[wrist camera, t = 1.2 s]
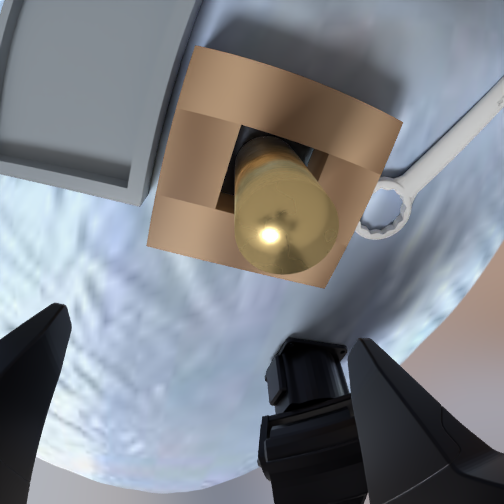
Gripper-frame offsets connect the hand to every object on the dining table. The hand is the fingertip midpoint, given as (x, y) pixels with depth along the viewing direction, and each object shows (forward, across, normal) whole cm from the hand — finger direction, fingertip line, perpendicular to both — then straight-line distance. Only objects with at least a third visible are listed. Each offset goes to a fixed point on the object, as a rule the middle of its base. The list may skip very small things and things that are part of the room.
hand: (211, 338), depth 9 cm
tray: (+13, +11, -6) cm, 18 cm away
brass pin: (+13, -2, -2) cm, 14 cm away
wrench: (+14, -17, -8) cm, 23 cm away
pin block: (+13, -2, -2) cm, 13 cm away
